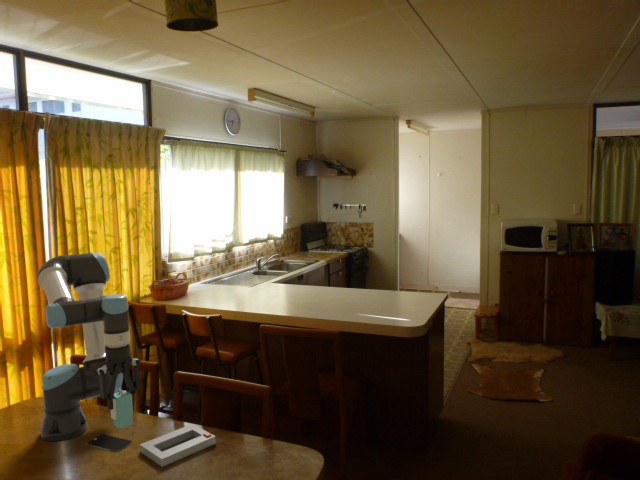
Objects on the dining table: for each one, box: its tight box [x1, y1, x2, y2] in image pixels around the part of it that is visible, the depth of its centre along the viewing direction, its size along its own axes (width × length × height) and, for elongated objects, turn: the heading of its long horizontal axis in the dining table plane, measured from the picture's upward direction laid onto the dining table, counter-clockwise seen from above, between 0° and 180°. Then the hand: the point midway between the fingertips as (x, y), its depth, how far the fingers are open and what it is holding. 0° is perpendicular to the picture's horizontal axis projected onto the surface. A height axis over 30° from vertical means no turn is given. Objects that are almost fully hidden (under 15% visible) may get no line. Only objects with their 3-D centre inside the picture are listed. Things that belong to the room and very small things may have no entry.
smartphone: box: [85, 434, 133, 453], centre depth 181 cm, size 8×1×15 cm
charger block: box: [112, 388, 134, 429], centre depth 168 cm, size 4×4×11 cm
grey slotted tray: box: [139, 423, 217, 468], centre depth 176 cm, size 14×20×3 cm
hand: (122, 415), depth 168 cm, fingers closed on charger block, 4 cm apart
